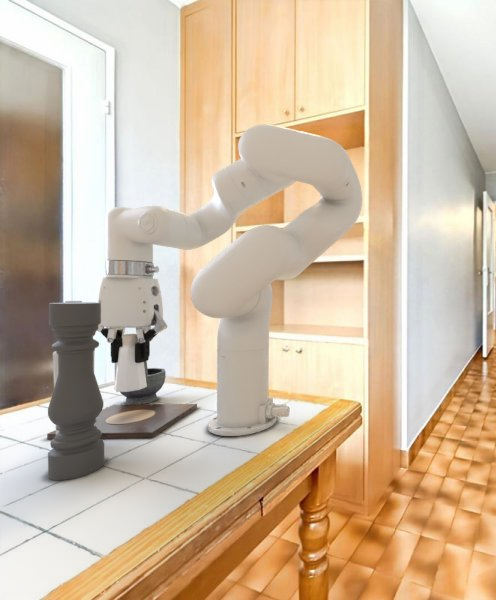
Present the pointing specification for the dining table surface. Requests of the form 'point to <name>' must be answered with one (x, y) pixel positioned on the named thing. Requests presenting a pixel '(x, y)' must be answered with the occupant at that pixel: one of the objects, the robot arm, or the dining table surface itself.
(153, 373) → the mortar and pestle
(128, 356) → the pepper shaker
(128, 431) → the board
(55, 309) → the candle holder
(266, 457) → the dining table surface
